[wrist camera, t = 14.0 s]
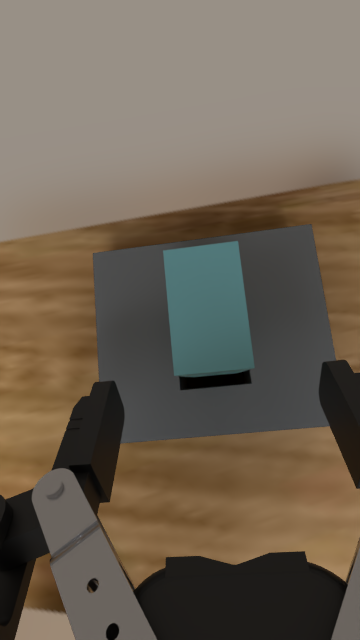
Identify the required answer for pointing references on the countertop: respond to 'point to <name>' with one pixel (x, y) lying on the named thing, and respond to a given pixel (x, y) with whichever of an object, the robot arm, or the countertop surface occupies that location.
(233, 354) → the teal rectangular block
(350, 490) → the countertop surface
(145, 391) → the gray slotted block
